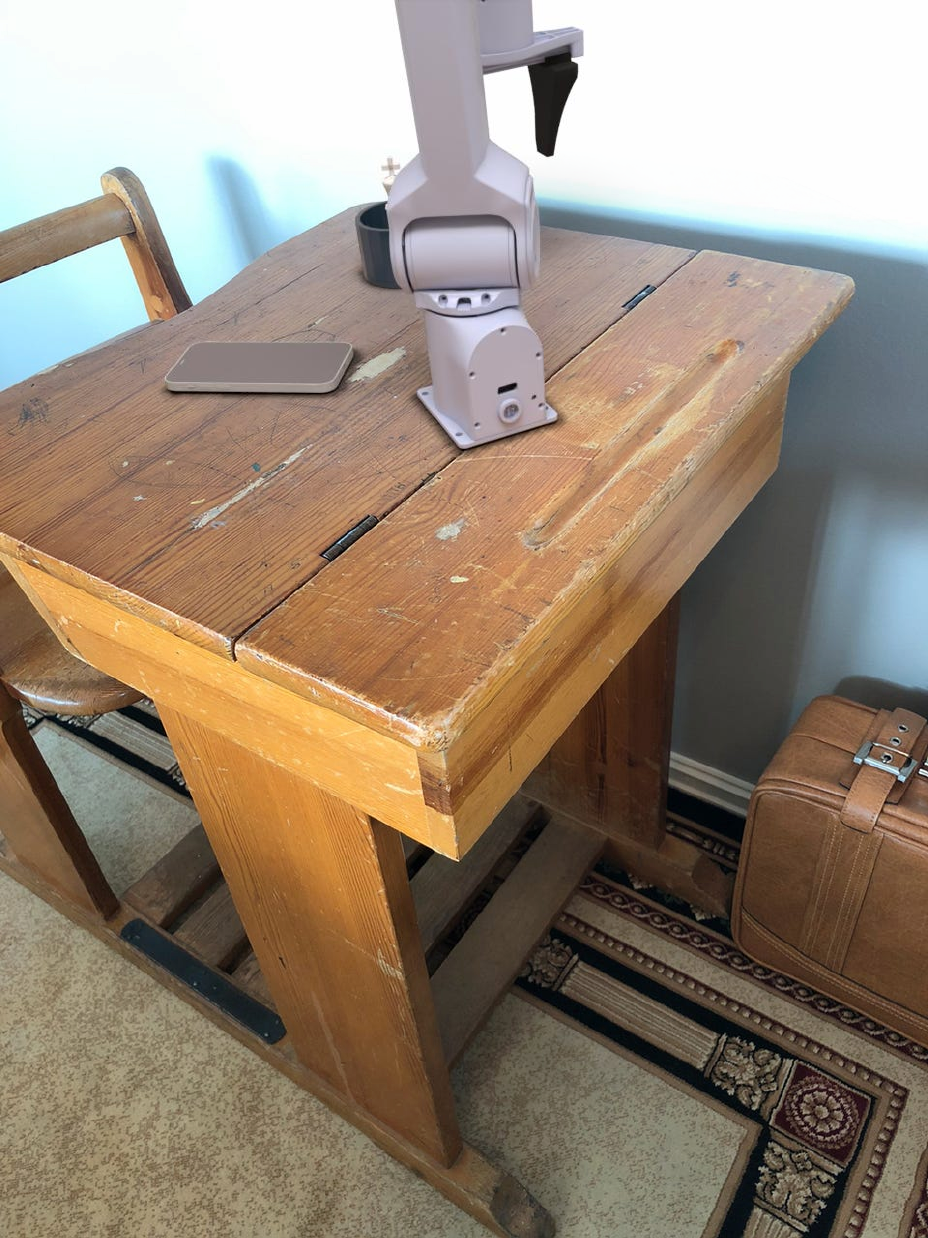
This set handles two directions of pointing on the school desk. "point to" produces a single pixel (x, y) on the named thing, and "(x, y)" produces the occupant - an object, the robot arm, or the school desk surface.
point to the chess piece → (389, 180)
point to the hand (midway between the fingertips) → (506, 163)
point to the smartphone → (261, 367)
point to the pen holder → (375, 245)
